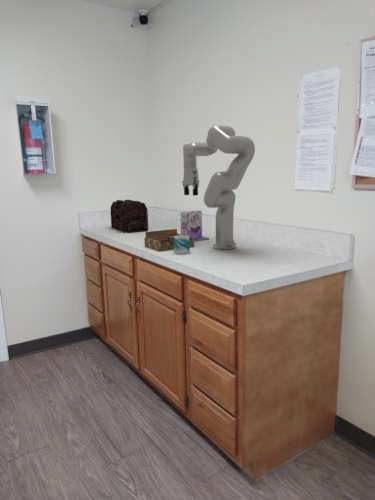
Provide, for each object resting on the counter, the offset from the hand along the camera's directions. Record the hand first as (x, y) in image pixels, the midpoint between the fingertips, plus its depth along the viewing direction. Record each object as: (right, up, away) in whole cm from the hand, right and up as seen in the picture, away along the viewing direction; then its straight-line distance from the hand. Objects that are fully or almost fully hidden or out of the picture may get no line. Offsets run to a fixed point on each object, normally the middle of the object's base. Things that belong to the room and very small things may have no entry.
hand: (191, 195), depth 236 cm
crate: (-44, -18, +54) cm, 72 cm away
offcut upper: (-9, -28, -20) cm, 36 cm away
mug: (-6, -34, -28) cm, 44 cm away
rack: (-12, -31, -14) cm, 36 cm away
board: (0, -26, +6) cm, 27 cm away
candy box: (0, -26, +5) cm, 26 cm away
